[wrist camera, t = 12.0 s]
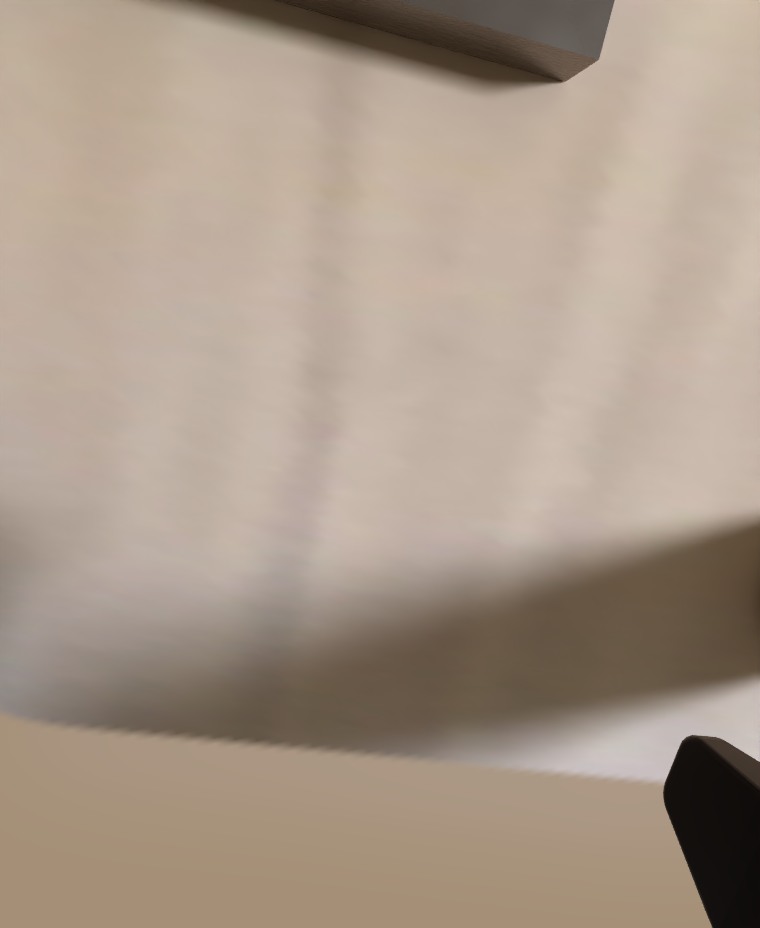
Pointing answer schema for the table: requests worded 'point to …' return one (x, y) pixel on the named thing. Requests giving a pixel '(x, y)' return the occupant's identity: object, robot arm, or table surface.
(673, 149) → the table surface
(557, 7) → the ring on base plate
